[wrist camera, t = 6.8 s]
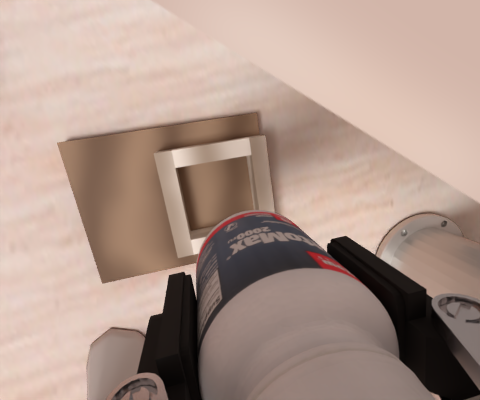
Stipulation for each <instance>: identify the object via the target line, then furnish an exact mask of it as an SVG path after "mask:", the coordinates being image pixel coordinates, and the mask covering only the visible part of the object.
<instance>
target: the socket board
mask: <svg viewBox="0 0 480 400" xmlns="http://www.w3.org/2000/svg"><path fill="white" fill-rule="evenodd" d="M57 144H58V147H59V150H60V154H61V157H62V160H63V163H64V166H65V169H66V172H67V175H68V178H69V182H70V185H71V188H72V191H73V194H74V197H75V200H76V203H77V206H78V209H79V213H80V216H81V219H82V222H83V225H84V228H85V231H86V234H87V237H88V241H89V244H90V247H91V250H92V253H93V256H94V259H95V262H96V265H97V268H98V272H99V275H100V278H101V281H102V284H103V283H107V282H112V281H116V280H121V279H125V278H130V277H134V276H139V275H143V274H148V273H152V272H157V271H161V270H166V269H170V268H175V267H180V266H184V265H189V264H193V263H197V258H198V254H199V251H200V248H201V245H202V243H203V242H204V240H205V238H206V237H207V235H208V234H209V233H210V231H211V230H212V229H213V228H214V227H215V226H216V225H217V224H219V223H220V222H221V221H223V220H224V219H226V218H228V217H230V216H232V215H234V214H237V213H240V212H243V211H249V210H266V211H271V212H274V213H275V209H274V201H273V193H272V184H271V176H270V168H269V160H268V152H267V144H266V136H265V135H260V134H259V126H258V118H257V113H251V114H245V115H238V116H232V117H225V118H218V119H212V120H205V121H198V122H192V123H185V124H179V125H172V126H165V127H159V128H152V129H145V130H139V131H132V132H126V133H119V134H112V135H106V136H99V137H92V138H86V139H79V140H73V141H66V142H59V143H57Z"/></svg>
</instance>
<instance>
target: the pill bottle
mask: <svg viewBox="0 0 480 400" xmlns="http://www.w3.org/2000/svg"><path fill="white" fill-rule="evenodd" d="M196 291H197V367H198V380H199V389H200V394H201V398H202V400H436V399H435V398H434V396H433V395H432V394H431V393H430V392H429V391H428V390H427V389H426V388H425V386H424V385H423V384H422V383H421V382H420V380H419V379H418V378H417V376H416V375H415V374H414V373H413V372H412V371H411V370H410V369H409V368H408V367H407V366H406V365H404V364H403V363H402V362H401V361H400V360H399V346H398V339H397V335H396V331H395V327H394V325H393V323H392V320H391V318H390V316H389V314H388V312H387V311H386V309H385V308H384V306H383V305H382V304H381V302H380V301H379V300H378V299H377V298H376V296H375V295H374V294H373V293H372V292H371V291H370V290H369V289H368V288H367V287H366V286H365V285H364V284H363V283H362V282H361V281H360V280H358V279H357V278H356V277H355V276H354V275H353V274H351V273H350V272H349V271H348V270H347V269H345V268H344V267H343V266H342V265H341V264H340V263H338V262H337V261H336V260H335V259H334V258H333V257H332V256H330V255H329V254H328V253H327V252H326V251H325V250H324V249H323V248H321V247H320V246H319V245H318V244H317V243H316V242H315V241H313V240H312V239H311V238H310V237H309V236H308V235H307V234H306V233H304V232H303V231H302V230H301V229H300V228H299V227H298V226H297V225H295V224H294V223H293V222H292V221H290V220H289V219H287V218H286V217H284V216H282V215H280V214H277V213H274V212H271V211H266V210H249V211H243V212H240V213H237V214H234V215H232V216H230V217H228V218H226V219H224V220H223V221H221V222H220V223H219V224H217V225H216V226H215V227H214V228H213V229H212V230H211V231H210V233H209V234H208V235H207V237H206V238H205V240H204V242H203V243H202V245H201V248H200V251H199V254H198V258H197V265H196Z"/></svg>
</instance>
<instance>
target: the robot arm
mask: <svg viewBox="0 0 480 400" xmlns="http://www.w3.org/2000/svg"><path fill="white" fill-rule="evenodd" d="M327 253H328V254H329V255H330V256H332V257H333V258H334V259H335V260H336V261H337V262H338V263H340V264H341V265H342V266H343V267H344V268H345V269H347V270H348V271H349V272H350V273H351V274H353V275H354V276H355V277H356V278H357V279H358V280H360V281H361V282H362V283H363V284H364V285H365V286H366V287H367V288H368V289H369V290H370V291H371V292H372V293H373V294H374V295H375V296H376V298H377V299H378V300H379V301H380V302H381V304H382V305H383V306H384V308H385V309H386V311H387V312H388V314H389V316H390V318H391V320H392V323H393V325H394V327H395V331H396V335H397V339H398V346H399V360H400V361H401V362H402V363H403V364H404V365H406V366H407V367H408V368H409V369H410V370H411V371H412V372H413V373H414V374H415V375H416V376H417V378H418V379H419V380H420V382H421V383H422V384H423V385H424V386H425V388H426V389H427V390H428V391H429V392H430V393H431V394H432V395H433V396H434V398H435V399H436V400H480V243H477V242H475V241H472V240H469V239H467V238H464V236H463V234H462V232H461V230H460V228H459V227H458V226H457V225H456V224H455V223H454V222H453V221H451V220H450V219H448V218H445V217H442V216H440V215H435V214H420V215H415V216H412V217H410V218H408V219H406V220H404V221H402V222H401V223H399V224H398V225H397V226H396V227H394V228H393V229H392V230H391V231H390V232H389V233H388V235H387V236H386V237H385V238H384V240H383V241H382V243H381V245H380V246H379V249H378V251H377V254H376V255H374V254H373V253H371V252H370V251H368V250H367V249H365V248H364V247H362V246H361V245H359V244H358V243H356V242H355V241H353V240H352V239H350V238H348V237H347V236H343V237H339V238H334V239H331V242H330V243H328V244H327ZM106 400H202V398H201V394H200V389H199V380H198V367H197V300H196V296H195V291H194V287H193V282H192V278H191V275H185V273H184V272H181V273H177V274H172V275H169V279H168V285H167V291H166V297H165V303H164V309H163V313H162V314H158V315H153V316H151V317H150V320H149V324H148V328H147V332H146V336H145V341H144V345H143V349H142V353H141V358H140V362H139V366H138V370H137V375H134V376H131V377H129V378H128V379H126V380H124V381H123V382H121V383H120V384H119V385H118V386H117V387H116V388H114V389H113V390H112V392H111V393H110V394H109V395H108V397H107V398H106Z"/></svg>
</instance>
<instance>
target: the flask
mask: <svg viewBox="0 0 480 400" xmlns="http://www.w3.org/2000/svg"><path fill="white" fill-rule="evenodd" d="M144 341H145V337H144V336H142V335H141V334H140V333H139V332H138V331H129V330H119V329H110V330H108V331H107V332H106V333H105V334H103V335H102V336H101V337H100V338H98V339H97V340H96V341H95V342H93V343H92V344H91V346H90V351H89V356H88V362H87V400H106V398H107V397H108V395H109V394H110V393H111V392H112V390H113V389H114V388H116V387H117V386H118V385H119V384H120V383H121V382H123V381H124V380H126V379H128V378H129V377H131V376H134V375H137V370H138V366H139V362H140V358H141V353H142V349H143V345H144Z"/></svg>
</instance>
